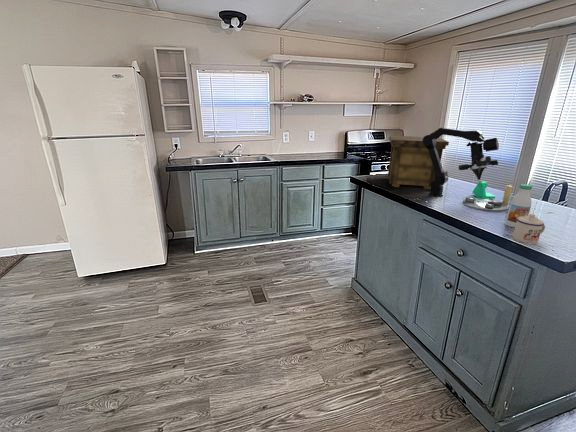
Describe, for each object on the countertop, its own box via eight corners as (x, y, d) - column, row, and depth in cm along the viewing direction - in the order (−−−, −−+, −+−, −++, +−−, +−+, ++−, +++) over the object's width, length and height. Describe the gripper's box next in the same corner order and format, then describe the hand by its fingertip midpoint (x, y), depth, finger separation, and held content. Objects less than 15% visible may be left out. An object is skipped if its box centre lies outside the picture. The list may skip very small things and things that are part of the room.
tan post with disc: (487, 208, 164) (492, 188, 161) (477, 204, 171) (481, 185, 167) (512, 206, 168) (517, 187, 164) (501, 203, 174) (506, 184, 171)
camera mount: (495, 200, 185) (499, 184, 182) (482, 200, 185) (486, 183, 182) (483, 195, 197) (487, 179, 193) (471, 195, 197) (475, 179, 193)
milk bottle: (501, 223, 147) (511, 183, 140) (515, 223, 148) (527, 183, 141) (513, 229, 140) (525, 187, 133) (528, 228, 141) (541, 187, 134)
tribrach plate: (482, 212, 163) (483, 206, 162) (453, 200, 183) (454, 195, 182) (516, 210, 167) (518, 204, 166) (485, 199, 187) (486, 194, 186)
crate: (384, 177, 244) (389, 135, 233) (431, 180, 236) (438, 137, 225) (385, 187, 212) (391, 139, 201) (439, 191, 204) (449, 141, 193)
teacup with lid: (523, 245, 123) (531, 218, 120) (506, 236, 132) (513, 210, 128) (550, 244, 125) (559, 217, 121) (531, 235, 133) (538, 210, 129)
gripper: (463, 156, 168) (465, 183, 170) (501, 149, 163) (503, 178, 165) (457, 155, 179) (459, 181, 181) (493, 149, 174) (495, 176, 176)
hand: (478, 179), depth 176 cm, fingers closed
